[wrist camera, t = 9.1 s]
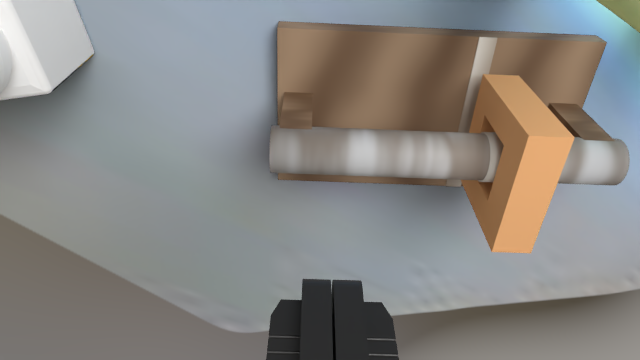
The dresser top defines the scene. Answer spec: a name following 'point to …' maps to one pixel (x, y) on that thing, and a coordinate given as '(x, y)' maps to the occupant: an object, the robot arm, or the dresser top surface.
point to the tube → (625, 10)
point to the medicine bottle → (39, 46)
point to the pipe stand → (424, 103)
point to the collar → (516, 162)
